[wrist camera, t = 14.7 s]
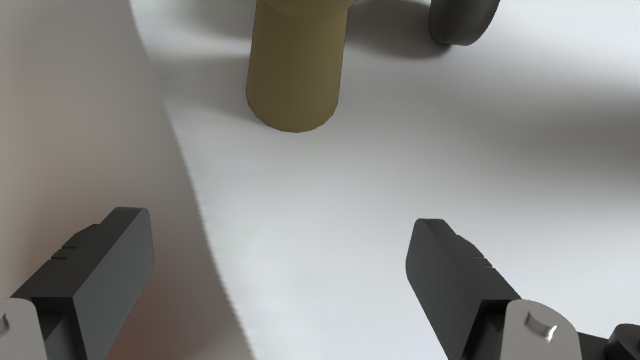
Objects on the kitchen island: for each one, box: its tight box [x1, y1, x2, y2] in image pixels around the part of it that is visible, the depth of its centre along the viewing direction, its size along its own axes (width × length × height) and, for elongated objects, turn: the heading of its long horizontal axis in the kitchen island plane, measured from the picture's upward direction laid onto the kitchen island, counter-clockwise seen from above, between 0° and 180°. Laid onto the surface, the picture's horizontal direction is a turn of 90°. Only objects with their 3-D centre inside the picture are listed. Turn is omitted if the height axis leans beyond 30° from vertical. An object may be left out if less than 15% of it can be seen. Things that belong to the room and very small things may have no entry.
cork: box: [246, 0, 357, 133], centre depth 17 cm, size 6×6×11 cm
